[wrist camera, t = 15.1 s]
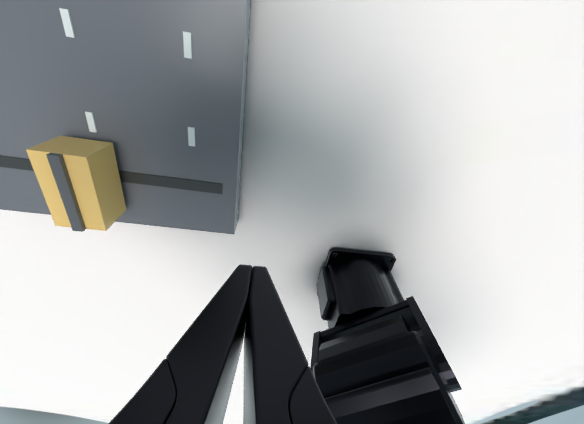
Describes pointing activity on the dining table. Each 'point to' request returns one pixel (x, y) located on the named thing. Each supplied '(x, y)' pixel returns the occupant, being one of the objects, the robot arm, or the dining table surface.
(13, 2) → the mixing board
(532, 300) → the dining table surface
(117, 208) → the amber fader
